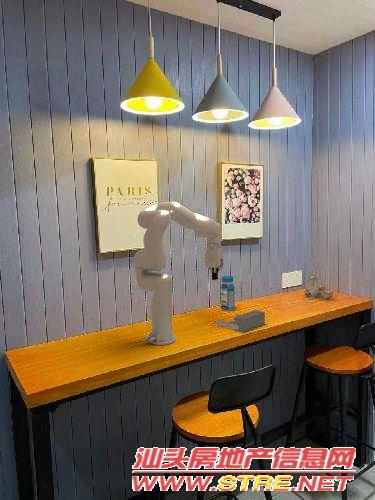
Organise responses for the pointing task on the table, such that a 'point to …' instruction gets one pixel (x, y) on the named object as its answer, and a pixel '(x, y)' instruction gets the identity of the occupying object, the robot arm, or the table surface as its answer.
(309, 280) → the chinaware
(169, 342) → the robot arm
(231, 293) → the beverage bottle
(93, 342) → the table surface
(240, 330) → the steel lip bracket
